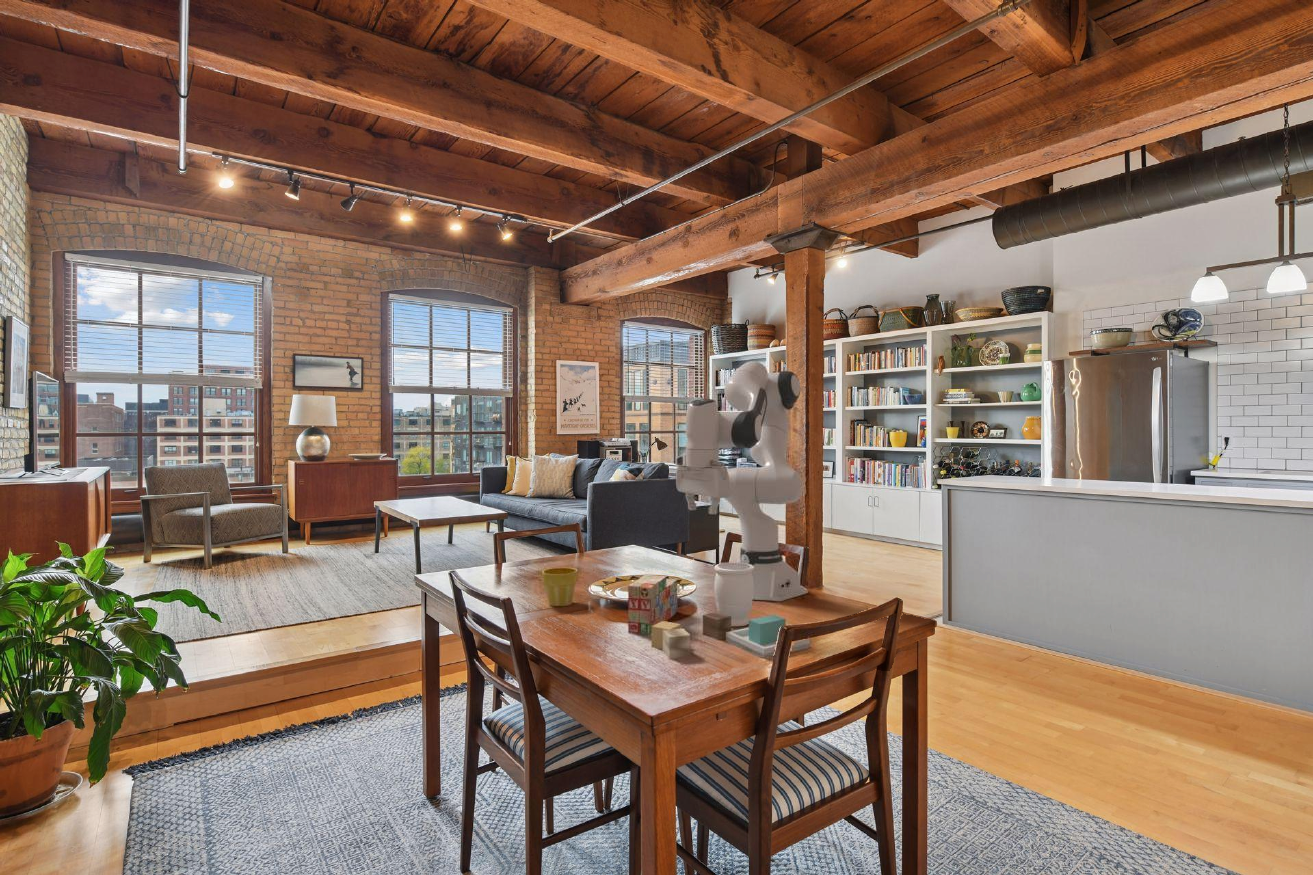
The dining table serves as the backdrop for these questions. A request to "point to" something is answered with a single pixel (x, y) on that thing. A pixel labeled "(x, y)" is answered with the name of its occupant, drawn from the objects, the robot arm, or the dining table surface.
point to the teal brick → (765, 629)
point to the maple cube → (676, 643)
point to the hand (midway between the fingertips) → (702, 511)
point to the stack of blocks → (650, 602)
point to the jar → (734, 591)
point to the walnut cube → (716, 625)
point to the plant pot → (560, 585)
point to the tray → (763, 651)
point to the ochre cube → (661, 632)
